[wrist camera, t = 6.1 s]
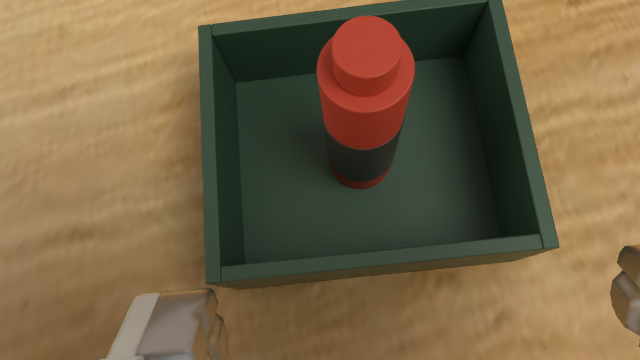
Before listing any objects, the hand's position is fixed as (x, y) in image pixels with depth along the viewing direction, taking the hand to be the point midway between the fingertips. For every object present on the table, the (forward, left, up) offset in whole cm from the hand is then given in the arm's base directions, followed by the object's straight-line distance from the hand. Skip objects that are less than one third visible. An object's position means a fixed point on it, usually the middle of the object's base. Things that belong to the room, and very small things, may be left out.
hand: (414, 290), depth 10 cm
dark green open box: (0, +7, -13) cm, 15 cm away
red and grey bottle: (0, +7, -12) cm, 14 cm away
